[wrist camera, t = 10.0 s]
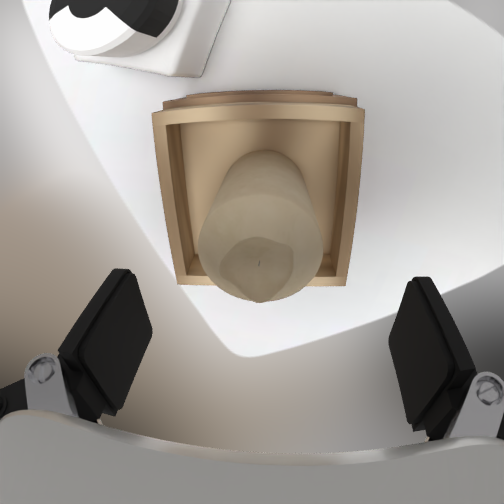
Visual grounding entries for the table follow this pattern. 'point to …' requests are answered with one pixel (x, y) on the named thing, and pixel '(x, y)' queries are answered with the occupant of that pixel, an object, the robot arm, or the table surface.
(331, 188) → the top crate
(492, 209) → the table surface
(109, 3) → the container
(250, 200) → the candle
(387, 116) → the table surface
